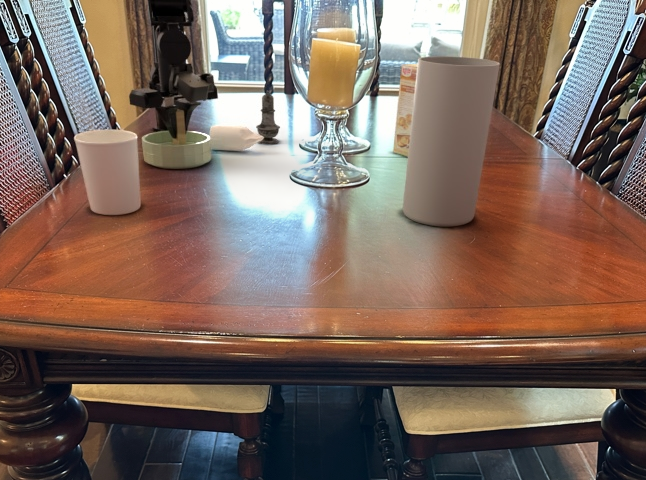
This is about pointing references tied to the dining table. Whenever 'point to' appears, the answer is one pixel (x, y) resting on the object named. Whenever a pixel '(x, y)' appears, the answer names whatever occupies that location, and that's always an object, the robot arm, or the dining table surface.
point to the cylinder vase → (448, 138)
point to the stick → (180, 129)
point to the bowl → (176, 150)
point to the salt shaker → (268, 121)
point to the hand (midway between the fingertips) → (178, 137)
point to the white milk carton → (232, 138)
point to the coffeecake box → (405, 109)
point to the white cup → (110, 170)
